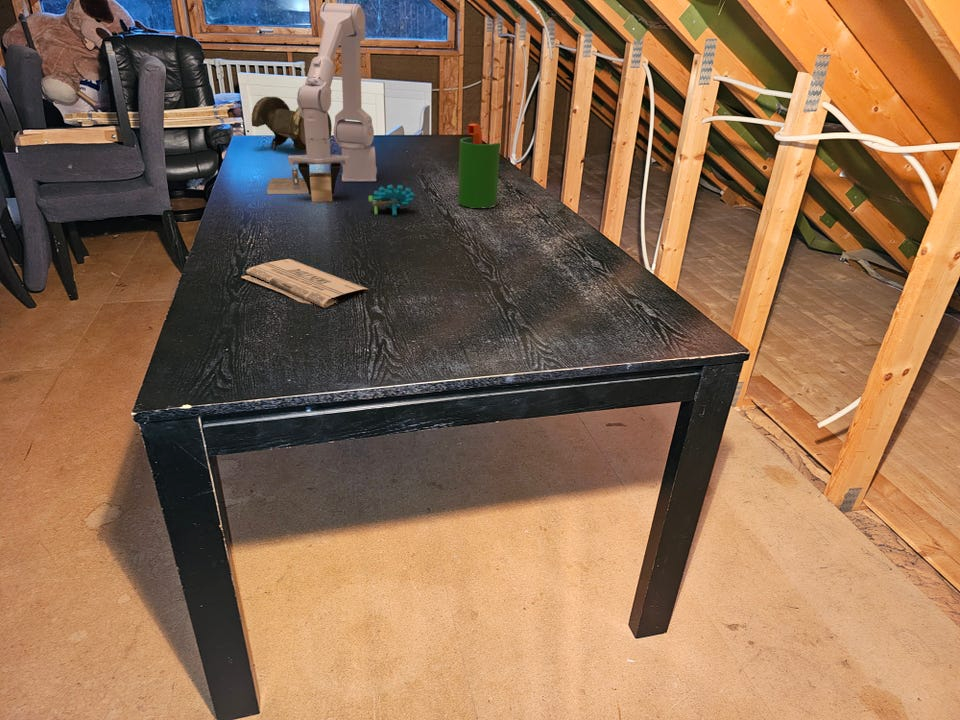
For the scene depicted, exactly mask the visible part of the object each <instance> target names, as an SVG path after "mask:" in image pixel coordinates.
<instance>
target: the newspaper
mask: <svg viewBox="0 0 960 720" xmlns="http://www.w3.org/2000/svg"><path fill="white" fill-rule="evenodd" d="M245 273H246V274H248V275H243V276H242V275H241V277H240V278H241V279H245V280H246V281H249V282H252V283H255V284H258V285H259V286H263V287H265V288H268V289H271V290H273V291H275V292H278V293H281V294H283V295H285V296H287V297H289V298H291V299H294V301H297V302H300V303H303V304H308V305H309V304H310V305H313V303H314V306H319V307H322V308H328V307H330V306H332V305H335V304H334V303H336V301H333V300H332V299H331V298H334V299H335V298H336V297H339V296H342V295H346V294H350V293H353V292H357V291H363V290H369V291H370V288H367V287H366V286H365V287H364V286H362V285H359V284H357V283H354V282H352V281H348V280H346V279H343V278H341V277H338V276H335V275H333V274H330V273H328V272H326V271H323V270H320V269H317V268H315V267H313V266H309V265H307V264H304V263H302V262H300V261H297V260H295V259H294V260H293V259H291V258H287V259H280V260H275V261H269V262H264V263H262V264H258V265H254V266H251V267H249V268H248V269H246V270H245ZM251 276H254V277H256V278H254V277H251ZM257 278H259V279H261V280H264V281H266V282H269V283H271V284H273V285H271V284H269V283H266V282H264V281H261V280H259V279H257ZM274 285H276V286H278V287H281V288H278V287H276V286H274ZM282 288H283V289H282ZM284 289H285V290H284ZM311 302H312V303H311ZM315 304H316V305H315ZM336 304H337V303H336Z"/></svg>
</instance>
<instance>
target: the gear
mask: <svg viewBox="0 0 960 720" xmlns="http://www.w3.org/2000/svg"><path fill="white" fill-rule="evenodd" d="M403 190H404V191H403ZM414 198H415V193H414V192H413V191H411V188H410V187H405V189H404V187H403V185H402V184H398V185H397V187H396V188H395V187H394V185H393V184H389V185H387V187H386V188H385V187H384V186H380V187H378V190H374V191H373V195H368V202H369V203H371V206H372V207H374V209H373V210H374V215H375V216H376V215H378V211H379V210H378V207H384V208H385V209H390V208H392V209H391V211H392V216H393V217H396V216H397V215H398V213H397V209H399V208H400V207H401V206H403V207H407V206H409V203H413V201H414Z"/></svg>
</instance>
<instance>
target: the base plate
mask: <svg viewBox="0 0 960 720" xmlns="http://www.w3.org/2000/svg"><path fill="white" fill-rule="evenodd" d="M266 194H267V195H285V194H286V195H287V194H288V195H289V194H290V195H291V194H292V195H293V194H297V195H300V194H304V195H307V194H308V195H310V194H309V192H308V188H307V185H306V183H305V180H304V178H303V177H299V169H298V168H296V167H293V168H292V169H291V177H289V178H288V177H284V178H283V177H281V178H280V177H279V178H276V177H275V178H271V177H270V181H269V183H268V187H267V189H266Z"/></svg>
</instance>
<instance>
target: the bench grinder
mask: <svg viewBox="0 0 960 720" xmlns="http://www.w3.org/2000/svg"><path fill="white" fill-rule="evenodd" d="M327 114H328V128H329V141H330V140H331V136H332V130H333V129H332V128H333V127H332V119H331V116H330V114H329V112H328V111H327ZM265 125H266V127H267V128H268V129H269V130H270V131H271V132H272V133H273V134H274V138H272V141H271V143H270V150H272V151H276V149H277V147H279V146H281V145H283V144H284V143H286V142H287V141H288V139H290V140H291V141H292V142H293V145H292V147H293V148H295V149H299V150H304V151H305V152H304V155H307V150H306V140H305V129H304V118H302V116H301V111H300V108H299V106H298V107H297V108H296V110H291V109H290V107H289V105H288V104H287V103H286V101H285V100H283V99H282V98H280V97H279V96H264V97H262V98H260V99H259V100H257V102H256V103H255V105H254V106H253V108H252V113H251V126H252V127H256V128H258V127H261V126H265Z"/></svg>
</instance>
